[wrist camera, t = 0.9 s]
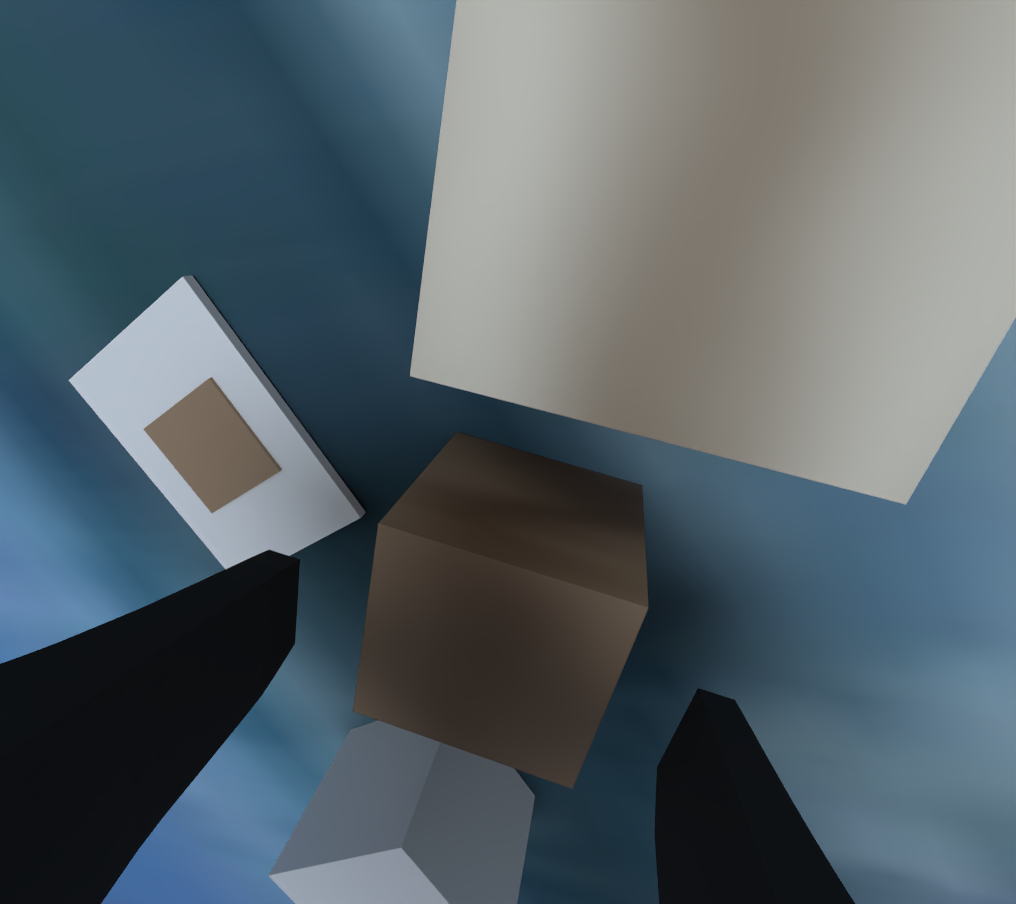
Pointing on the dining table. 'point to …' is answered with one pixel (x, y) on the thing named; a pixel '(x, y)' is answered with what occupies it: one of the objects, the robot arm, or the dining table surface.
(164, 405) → the card
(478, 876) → the grey block
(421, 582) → the walnut block
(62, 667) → the robot arm
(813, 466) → the birch base block
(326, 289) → the dining table surface
